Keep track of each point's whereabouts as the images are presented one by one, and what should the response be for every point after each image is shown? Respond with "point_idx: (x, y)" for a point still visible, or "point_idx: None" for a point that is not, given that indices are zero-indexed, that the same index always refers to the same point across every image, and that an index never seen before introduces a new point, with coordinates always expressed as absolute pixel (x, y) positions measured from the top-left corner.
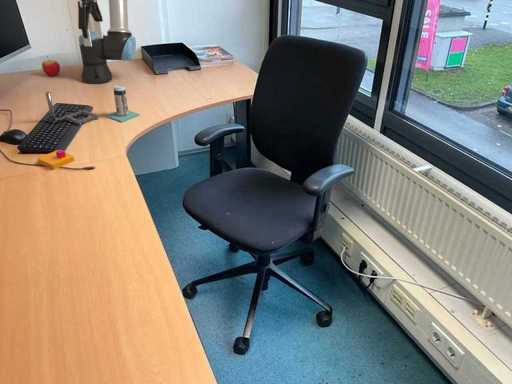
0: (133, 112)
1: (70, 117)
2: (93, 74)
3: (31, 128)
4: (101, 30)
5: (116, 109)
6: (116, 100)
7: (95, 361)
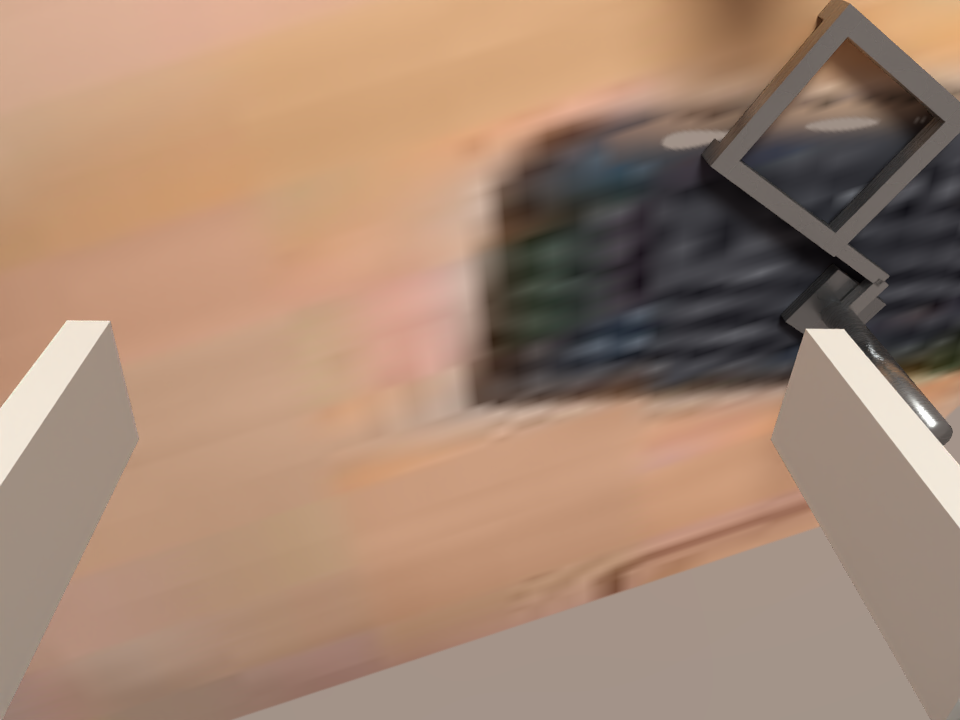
0: None
1: (868, 210)
2: None
3: (926, 385)
4: (24, 431)
5: None
6: None
7: None
